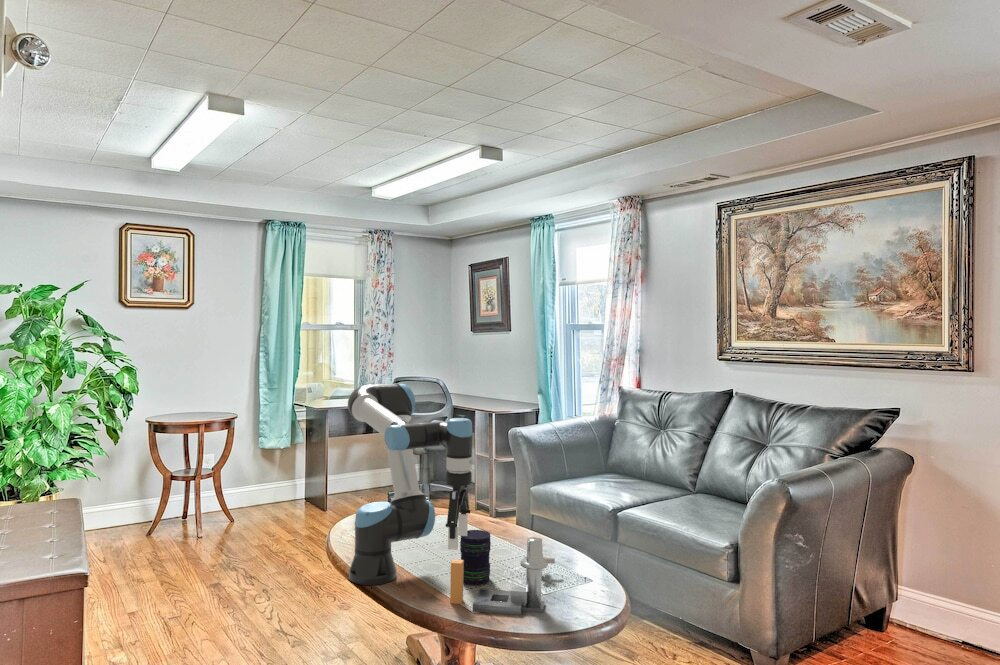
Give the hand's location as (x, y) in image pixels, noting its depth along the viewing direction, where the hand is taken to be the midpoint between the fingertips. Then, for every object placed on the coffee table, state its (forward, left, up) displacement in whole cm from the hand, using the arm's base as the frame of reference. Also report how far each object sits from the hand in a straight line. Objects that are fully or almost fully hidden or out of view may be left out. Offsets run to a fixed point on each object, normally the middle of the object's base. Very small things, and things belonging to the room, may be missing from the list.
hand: (458, 542), depth 208 cm
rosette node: (+16, 0, -18) cm, 24 cm away
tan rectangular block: (0, 0, -18) cm, 18 cm away
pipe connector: (+22, +27, -18) cm, 39 cm away
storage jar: (+2, +18, -18) cm, 26 cm away
